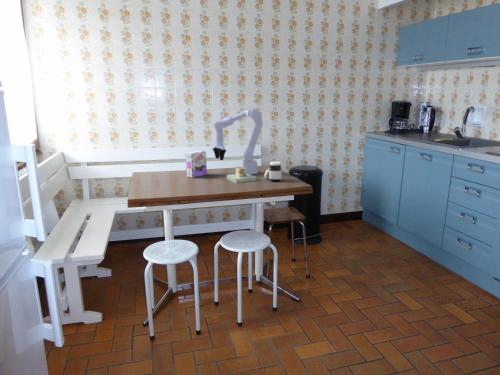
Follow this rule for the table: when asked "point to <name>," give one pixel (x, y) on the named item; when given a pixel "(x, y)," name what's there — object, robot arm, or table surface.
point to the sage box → (241, 178)
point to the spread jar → (274, 172)
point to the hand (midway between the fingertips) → (219, 159)
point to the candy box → (196, 164)
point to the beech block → (241, 172)
